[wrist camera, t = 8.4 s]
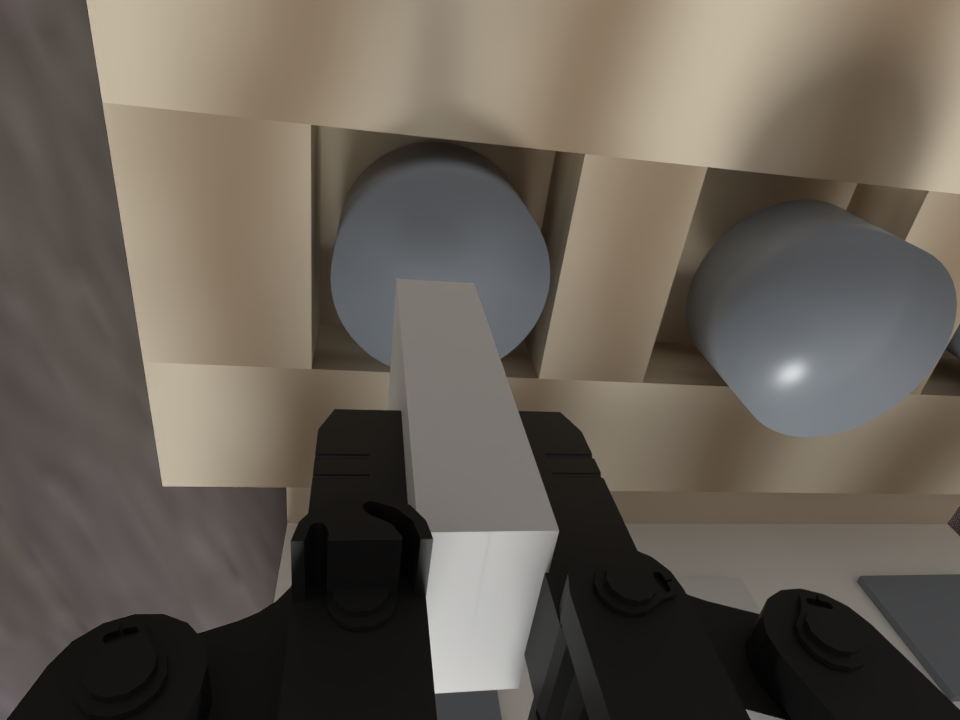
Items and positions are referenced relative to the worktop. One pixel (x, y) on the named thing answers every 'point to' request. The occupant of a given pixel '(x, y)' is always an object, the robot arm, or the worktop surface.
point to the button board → (546, 194)
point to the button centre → (819, 316)
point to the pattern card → (778, 567)
